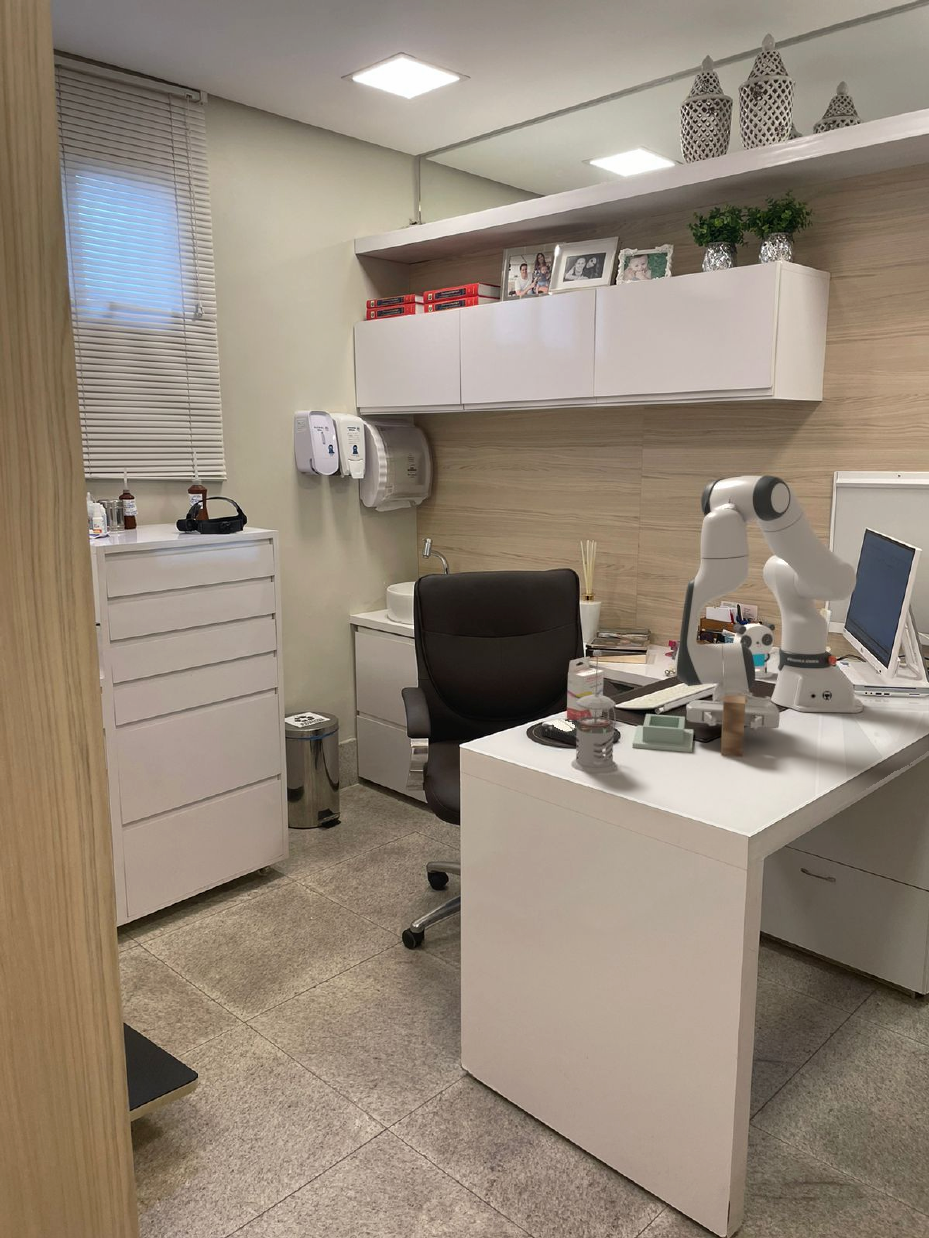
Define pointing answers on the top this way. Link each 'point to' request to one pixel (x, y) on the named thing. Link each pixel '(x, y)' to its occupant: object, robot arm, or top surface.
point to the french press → (595, 734)
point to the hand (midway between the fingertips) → (733, 724)
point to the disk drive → (568, 732)
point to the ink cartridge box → (582, 687)
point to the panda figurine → (757, 644)
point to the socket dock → (663, 734)
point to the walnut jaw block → (733, 725)
